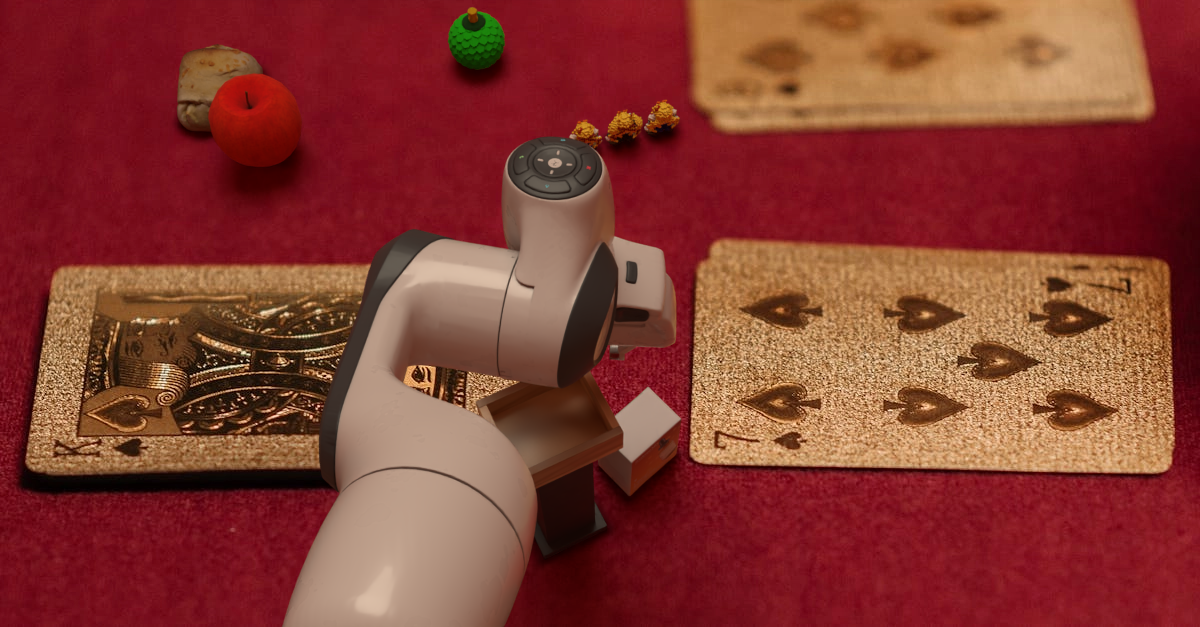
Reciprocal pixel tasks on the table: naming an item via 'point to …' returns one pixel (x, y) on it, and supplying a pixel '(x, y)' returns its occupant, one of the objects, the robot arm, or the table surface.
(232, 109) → the apple
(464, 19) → the ornament
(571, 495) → the stand
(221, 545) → the table surface
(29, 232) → the table surface
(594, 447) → the beige open tray
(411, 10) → the table surface
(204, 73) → the pastry
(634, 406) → the small box
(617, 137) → the figurine set
